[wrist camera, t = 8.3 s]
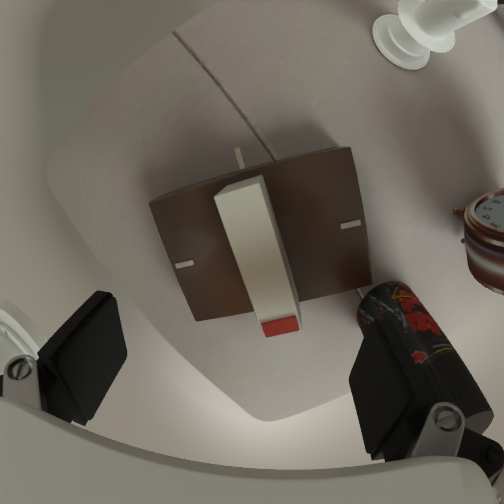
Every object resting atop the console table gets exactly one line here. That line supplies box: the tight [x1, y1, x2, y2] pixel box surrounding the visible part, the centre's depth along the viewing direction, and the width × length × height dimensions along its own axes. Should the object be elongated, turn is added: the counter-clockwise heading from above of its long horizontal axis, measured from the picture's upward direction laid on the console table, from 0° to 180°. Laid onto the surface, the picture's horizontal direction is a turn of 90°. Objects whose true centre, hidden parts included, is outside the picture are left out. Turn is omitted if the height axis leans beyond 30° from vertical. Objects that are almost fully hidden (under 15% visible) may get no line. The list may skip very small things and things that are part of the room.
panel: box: [149, 147, 373, 321], centre depth 20 cm, size 14×13×3 cm
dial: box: [214, 175, 302, 338], centre depth 17 cm, size 9×2×4 cm, turn 17°
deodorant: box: [357, 282, 494, 435], centre depth 16 cm, size 6×6×15 cm
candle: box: [372, 0, 497, 70], centre depth 9 cm, size 5×5×12 cm
